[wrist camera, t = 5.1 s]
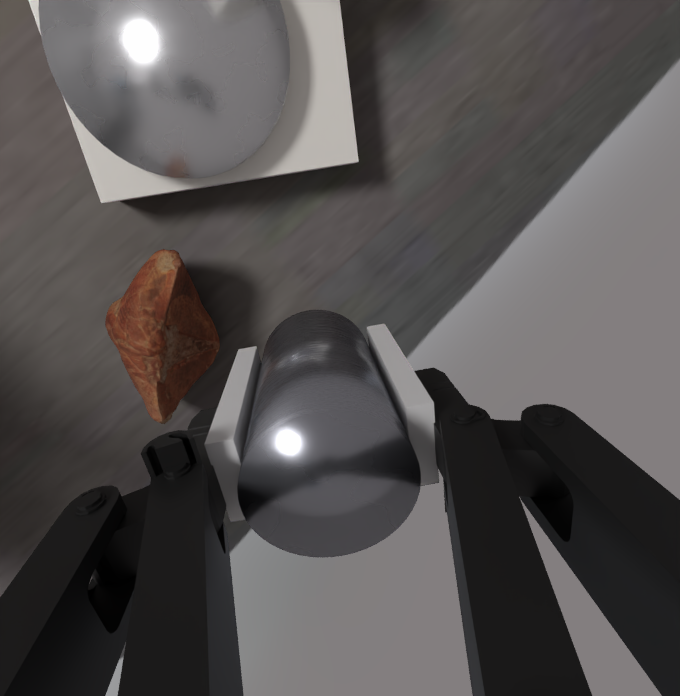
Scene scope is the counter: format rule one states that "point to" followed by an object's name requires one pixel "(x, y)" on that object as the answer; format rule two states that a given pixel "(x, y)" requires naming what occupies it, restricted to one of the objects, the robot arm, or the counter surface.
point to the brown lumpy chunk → (163, 333)
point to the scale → (291, 129)
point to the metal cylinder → (324, 443)
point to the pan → (171, 77)
